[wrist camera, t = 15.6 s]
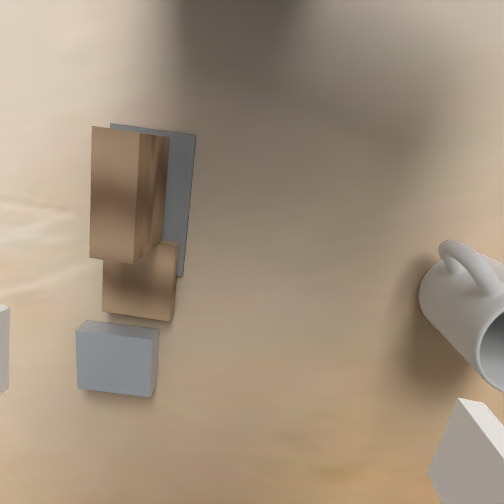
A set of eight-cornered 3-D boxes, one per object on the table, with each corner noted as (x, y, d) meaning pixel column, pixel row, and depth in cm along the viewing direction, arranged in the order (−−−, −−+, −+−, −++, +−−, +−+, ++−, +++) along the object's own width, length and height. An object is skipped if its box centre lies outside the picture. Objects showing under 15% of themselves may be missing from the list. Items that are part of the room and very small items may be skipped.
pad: (112, 123, 34) (110, 123, 34) (196, 135, 34) (195, 135, 34) (107, 263, 38) (105, 265, 38) (183, 275, 38) (182, 276, 38)
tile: (159, 327, 40) (88, 319, 40) (152, 340, 38) (75, 330, 38) (157, 382, 42) (89, 373, 42) (150, 397, 39) (77, 388, 40)
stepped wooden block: (114, 129, 34) (68, 122, 26) (188, 139, 34) (163, 136, 26) (108, 305, 39) (67, 343, 31) (173, 315, 39) (148, 355, 31)
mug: (519, 302, 37) (619, 363, 26) (441, 344, 38) (505, 417, 28) (464, 204, 35) (548, 228, 24) (384, 253, 36) (430, 295, 26)
